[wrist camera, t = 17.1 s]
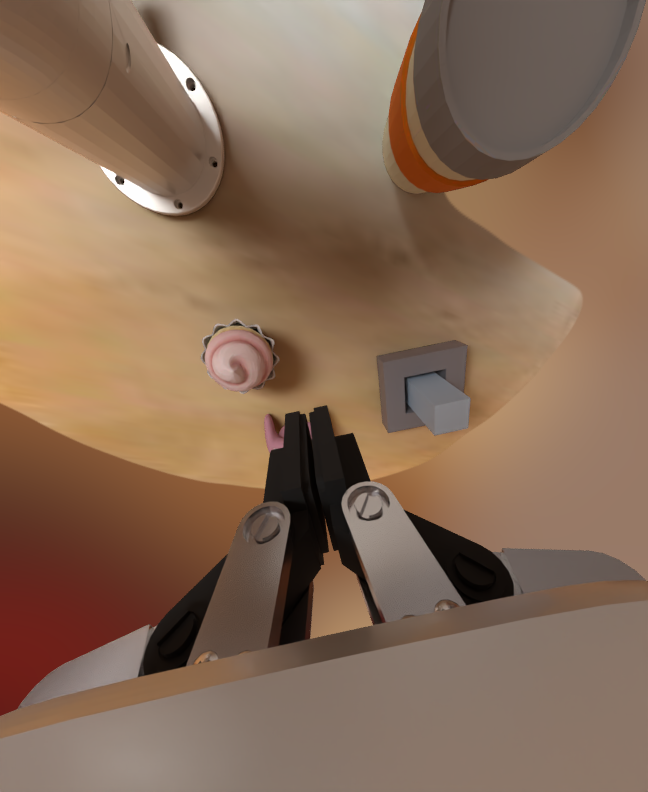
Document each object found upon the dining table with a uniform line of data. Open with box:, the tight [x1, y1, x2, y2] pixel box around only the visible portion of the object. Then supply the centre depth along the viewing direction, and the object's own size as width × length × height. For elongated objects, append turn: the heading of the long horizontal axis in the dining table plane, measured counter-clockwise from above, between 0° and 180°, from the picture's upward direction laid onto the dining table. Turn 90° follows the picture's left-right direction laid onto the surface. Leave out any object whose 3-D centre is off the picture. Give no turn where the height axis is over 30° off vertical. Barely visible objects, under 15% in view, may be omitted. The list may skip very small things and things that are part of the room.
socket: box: [377, 340, 467, 433], centre depth 39 cm, size 12×12×3 cm
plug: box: [404, 371, 470, 436], centre depth 36 cm, size 4×4×10 cm
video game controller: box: [264, 414, 312, 452], centre depth 39 cm, size 10×5×7 cm, turn 96°
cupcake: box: [201, 319, 280, 394], centre depth 31 cm, size 9×9×10 cm
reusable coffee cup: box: [382, 0, 646, 194], centre depth 21 cm, size 13×13×15 cm
